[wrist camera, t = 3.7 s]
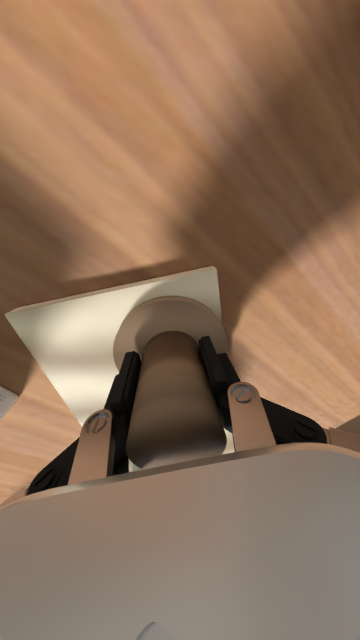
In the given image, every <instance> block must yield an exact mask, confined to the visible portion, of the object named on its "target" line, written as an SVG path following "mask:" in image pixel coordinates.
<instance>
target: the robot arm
mask: <svg viewBox="0 0 360 640" xmlns="http://www.w3.org/2000/svg"><path fill="white" fill-rule="evenodd" d="M198 343H199V348H200V352H201V356H202V359H203V362H204V366H205V369H206V373H207V376H208V379H209V383H210V386H211V389H212V393H213V396H214V399H215V401H216V404H217V407H218V410H219V413H220V417H221V420H222V423H223V427H224V428H225V429H226V430H227V431H229V432H230V433H232V438H233V445H234V452H233V453H228V454H222V455H217V456H212V457H206V458H201V459H196V460H191V461H185V462H180V463H175V464H170V465H165V466H159V467H154V468H149V469H144V470H139V471H134V472H132V462H131V461H130V459H129V458H128V456H127V453H126V442H127V437H128V432H129V426H130V421H131V416H132V410H133V405H134V399H135V394H136V389H137V383H138V378H139V373H140V367H141V362H142V361H141V358H140V355H139V353H138V352H137V353H136V352H135V351H131V352H126V353H125V356H124V359H123V362H122V365H121V368H120V371H119V374H117V375H116V376H115V378H114V381H113V383H112V386H111V389H110V392H109V395H108V398H107V400H106V403H105V406H104V409H102V410H99V411H96V412H95V413H93V414H92V415H90V416H89V417H88V418H87V420H86V421H85V422H84V424H83V427H82V430H81V434H80V437H79V438H78V439H77V440H76V441H75V442H74V443H72V444H71V445H70V446H69V447H68V448H67V449H65V450H64V451H63V452H62V453H61V454H60V455H59V456H57V457H56V458H55V459H54V460H53V461H52V462H50V463H49V464H48V465H47V466H46V467H45V468H44V469H42V470H41V471H40V472H39V473H38V474H37V476H36V477H35V478H34V480H33V481H32V483H31V484H30V486H29V487H28V488H27V487H26V486H25V487H24V488H22V489H21V490H20V491H18V492H17V493H15V494H14V495H12V496H11V497H10V498H8V499H7V500H5V501H4V502H3V503H1V504H0V640H360V436H359V435H355V434H351V433H348V432H345V431H341V430H338V429H334V428H331V427H329V429H325V428H322V427H321V426H320V425H319V424H318V423H316V422H315V421H314V420H312V419H310V418H308V417H306V416H304V415H301V414H299V413H297V412H294V411H292V410H289V409H287V408H285V407H282V406H280V405H278V404H275V403H273V402H271V401H268V400H266V399H264V398H261V397H260V395H259V392H258V390H257V389H256V388H255V387H254V386H253V385H251V384H249V383H246V382H241V381H240V379H239V377H238V375H237V373H236V371H235V369H234V367H233V365H232V364H231V362H230V360H229V358H228V356H227V354H226V353H220V354H217V353H216V350H215V348H214V346H213V343H212V341H211V339H210V336H209V335H208V336H204V337H201V339H200V340H198Z"/></svg>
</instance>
